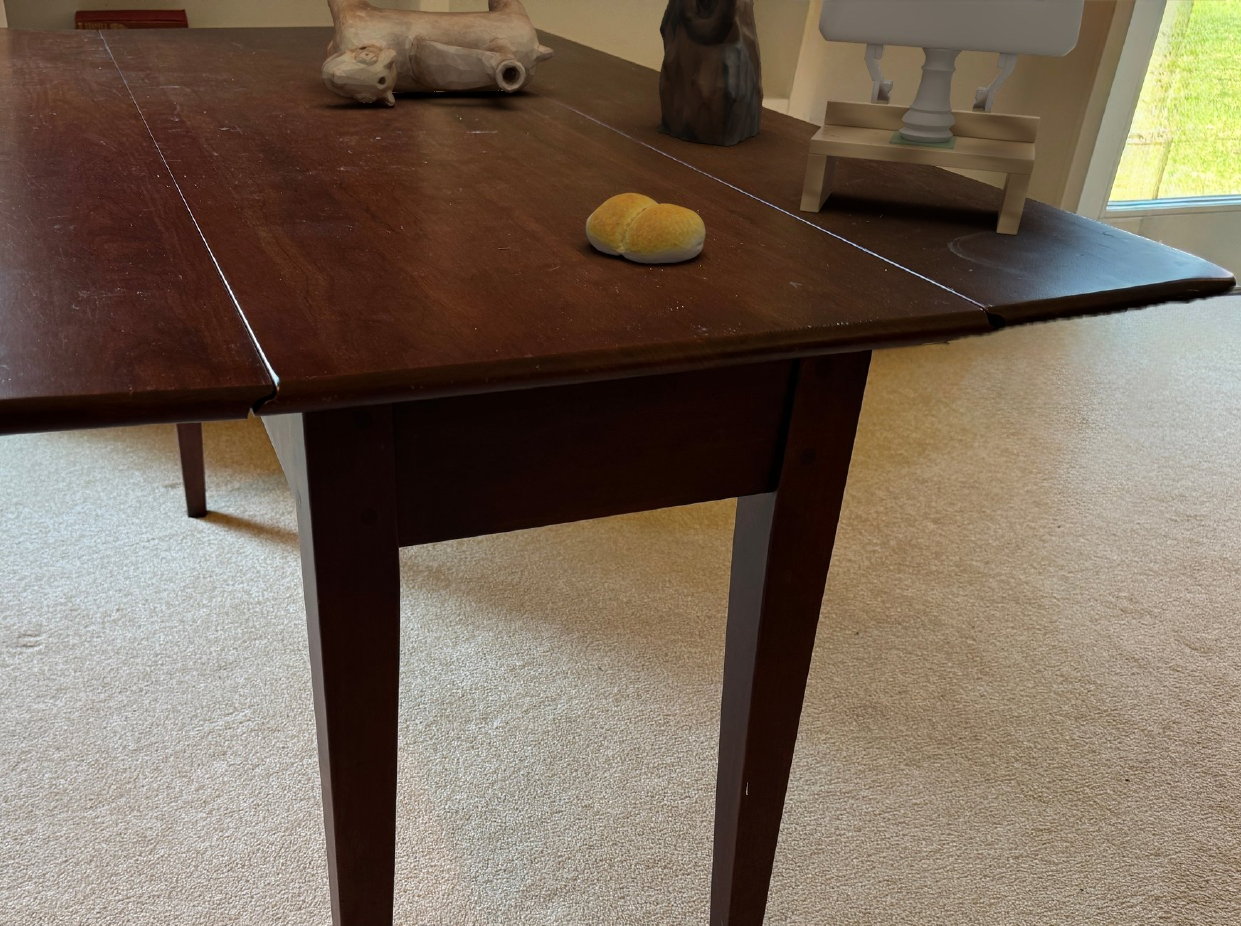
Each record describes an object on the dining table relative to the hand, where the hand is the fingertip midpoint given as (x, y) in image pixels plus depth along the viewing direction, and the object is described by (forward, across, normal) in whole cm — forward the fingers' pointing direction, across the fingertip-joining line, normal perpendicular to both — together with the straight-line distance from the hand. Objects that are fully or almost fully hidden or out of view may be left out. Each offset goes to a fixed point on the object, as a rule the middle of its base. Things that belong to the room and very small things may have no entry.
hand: (930, 107), depth 96 cm
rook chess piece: (+3, 0, 0) cm, 3 cm away
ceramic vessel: (+9, +63, -38) cm, 74 cm away
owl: (+9, +24, -28) cm, 38 cm away
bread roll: (+9, +18, +22) cm, 30 cm away
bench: (+9, 0, 0) cm, 9 cm away
